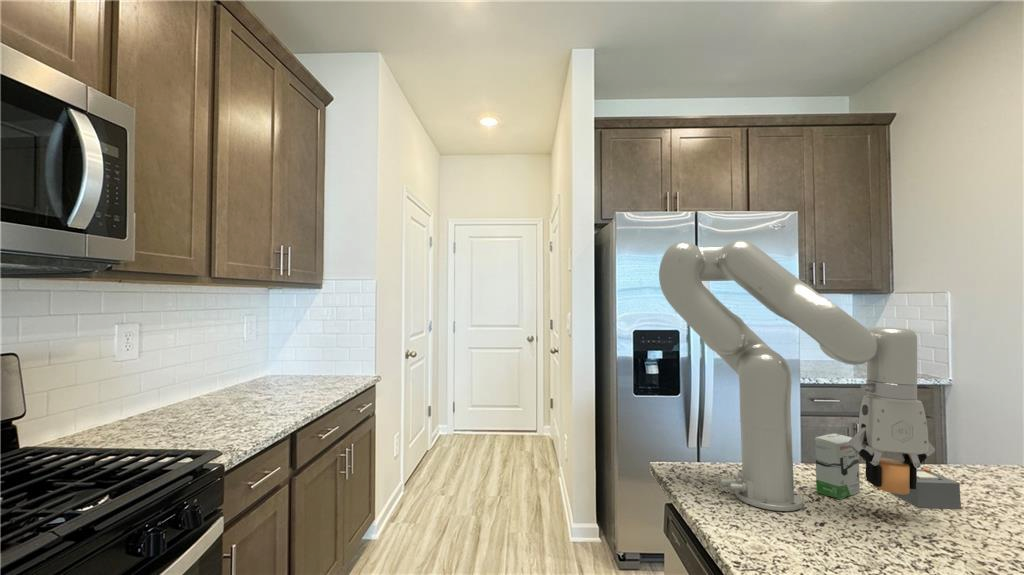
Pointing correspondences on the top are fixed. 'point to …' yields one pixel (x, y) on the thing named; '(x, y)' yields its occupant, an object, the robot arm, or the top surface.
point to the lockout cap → (894, 476)
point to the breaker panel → (934, 493)
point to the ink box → (836, 466)
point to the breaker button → (925, 476)
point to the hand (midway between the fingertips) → (890, 484)
